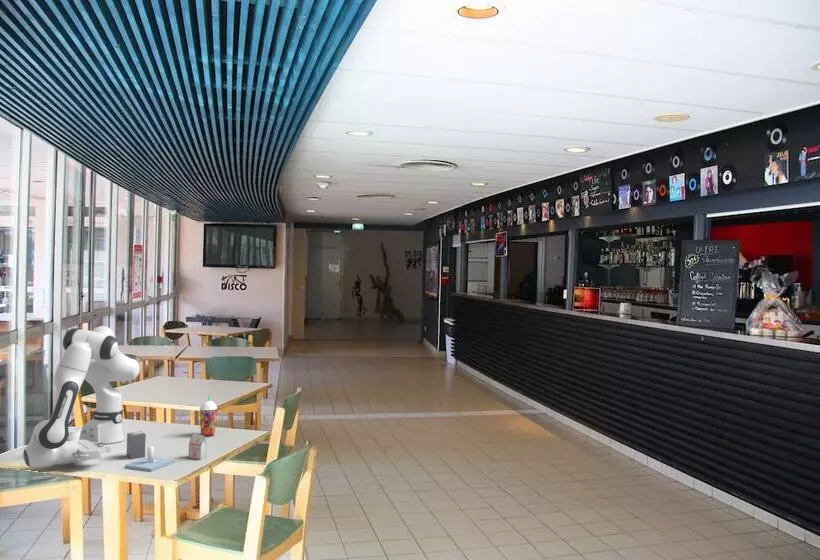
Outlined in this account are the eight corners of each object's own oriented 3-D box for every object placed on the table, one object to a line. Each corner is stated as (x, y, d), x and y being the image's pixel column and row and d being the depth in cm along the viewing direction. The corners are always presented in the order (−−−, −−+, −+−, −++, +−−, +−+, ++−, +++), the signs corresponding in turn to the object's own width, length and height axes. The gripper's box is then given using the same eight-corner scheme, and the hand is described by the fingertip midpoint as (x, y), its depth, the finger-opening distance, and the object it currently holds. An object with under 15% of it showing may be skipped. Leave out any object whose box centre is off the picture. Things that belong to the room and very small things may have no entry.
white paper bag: (194, 455, 278) (195, 433, 278) (206, 457, 275) (207, 434, 275) (188, 457, 274) (189, 434, 274) (200, 459, 272) (201, 436, 272)
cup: (86, 453, 277) (86, 428, 277) (67, 459, 268) (68, 433, 268) (68, 450, 280) (69, 425, 280) (49, 456, 271) (50, 430, 271)
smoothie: (209, 432, 320) (210, 393, 320) (220, 435, 315) (221, 395, 315) (195, 435, 313) (196, 395, 313) (205, 438, 308) (207, 397, 308)
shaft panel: (125, 468, 257) (125, 449, 257) (149, 459, 270) (149, 441, 270) (151, 471, 253) (152, 453, 253) (174, 462, 266) (175, 444, 266)
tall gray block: (131, 459, 270) (131, 435, 270) (126, 456, 274) (127, 432, 274) (144, 457, 274) (145, 433, 274) (140, 454, 278) (140, 430, 278)
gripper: (77, 449, 249) (114, 444, 258) (63, 439, 264) (99, 434, 273) (77, 465, 249) (114, 459, 258) (63, 454, 264) (98, 449, 273)
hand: (106, 446), depth 266 cm, fingers open, 8 cm apart
